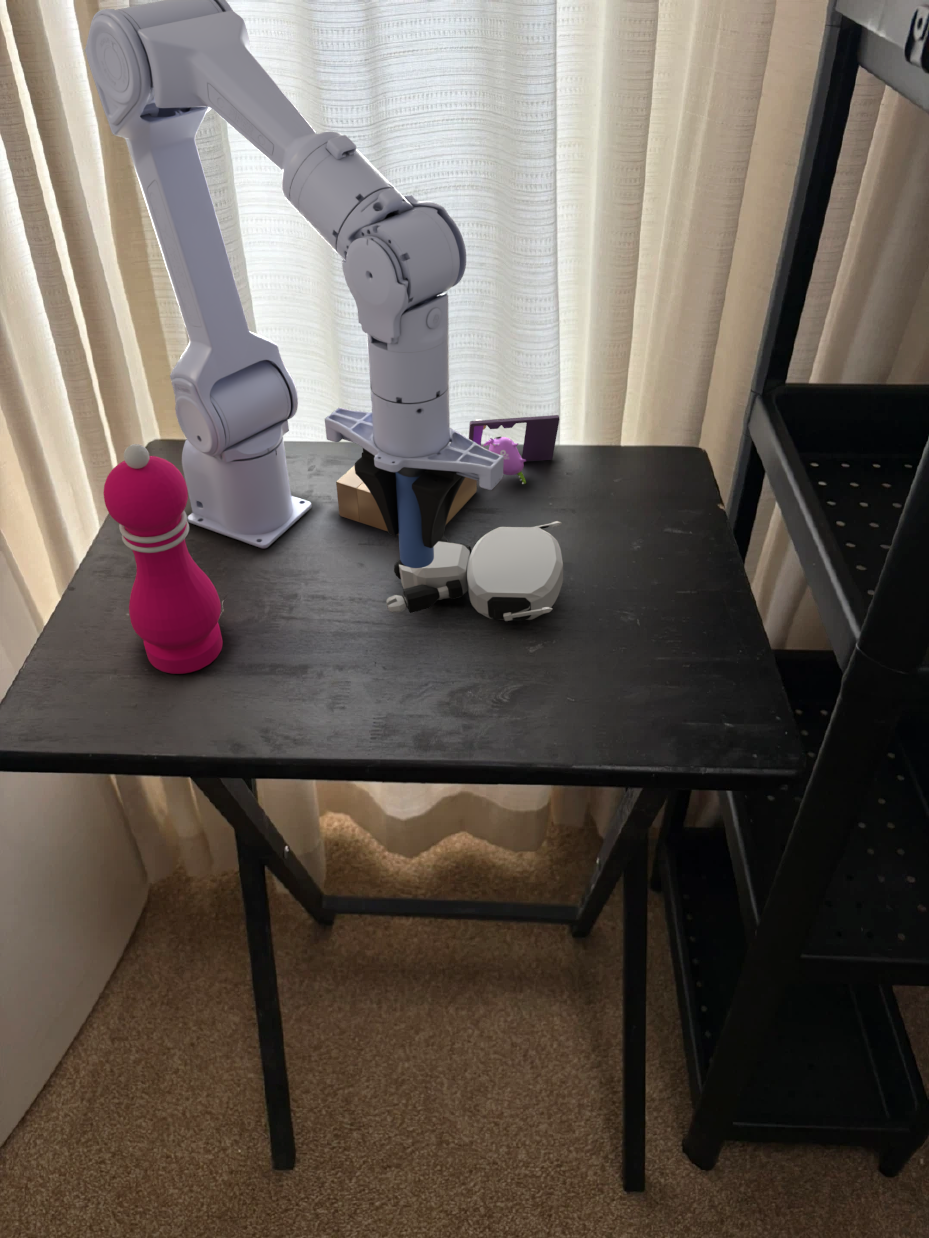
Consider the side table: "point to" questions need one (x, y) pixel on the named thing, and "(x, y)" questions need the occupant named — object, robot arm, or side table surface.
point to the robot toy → (489, 574)
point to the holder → (364, 508)
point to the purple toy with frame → (535, 443)
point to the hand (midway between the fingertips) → (415, 534)
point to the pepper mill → (163, 564)
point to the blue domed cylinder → (410, 521)
